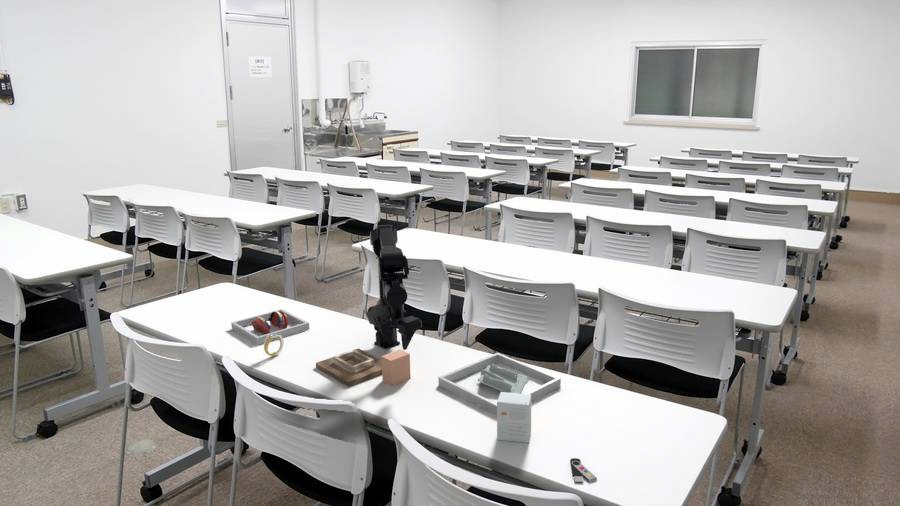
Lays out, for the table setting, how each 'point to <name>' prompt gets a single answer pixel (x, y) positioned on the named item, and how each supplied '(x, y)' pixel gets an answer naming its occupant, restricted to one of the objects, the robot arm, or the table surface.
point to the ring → (266, 343)
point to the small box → (514, 417)
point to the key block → (396, 367)
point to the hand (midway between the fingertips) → (395, 344)
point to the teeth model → (274, 319)
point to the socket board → (351, 367)
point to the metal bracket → (502, 379)
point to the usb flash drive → (580, 471)
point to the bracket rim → (447, 379)
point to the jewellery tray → (258, 340)
